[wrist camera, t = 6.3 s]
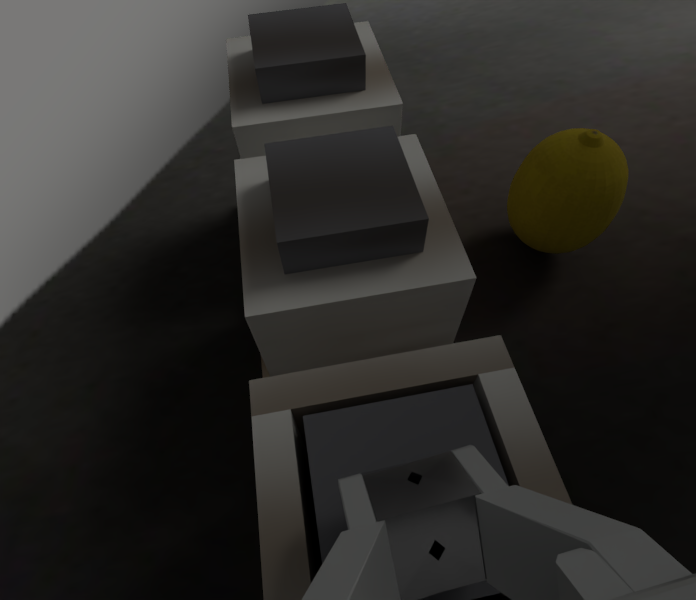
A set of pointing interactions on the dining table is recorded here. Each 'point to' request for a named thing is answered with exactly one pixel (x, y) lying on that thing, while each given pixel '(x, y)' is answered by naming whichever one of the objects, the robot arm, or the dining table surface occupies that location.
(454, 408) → the plain button
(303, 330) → the button panel
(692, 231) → the dining table surface
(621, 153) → the lemon
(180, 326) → the dining table surface
